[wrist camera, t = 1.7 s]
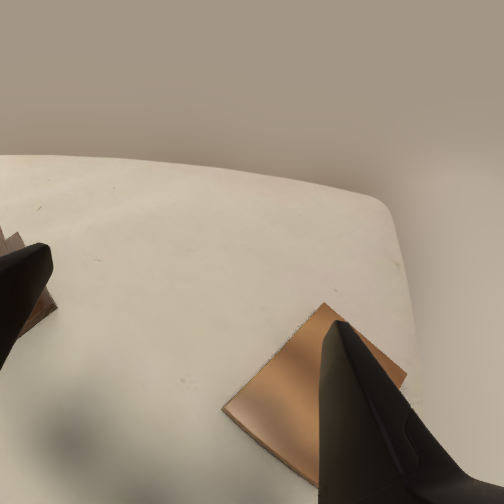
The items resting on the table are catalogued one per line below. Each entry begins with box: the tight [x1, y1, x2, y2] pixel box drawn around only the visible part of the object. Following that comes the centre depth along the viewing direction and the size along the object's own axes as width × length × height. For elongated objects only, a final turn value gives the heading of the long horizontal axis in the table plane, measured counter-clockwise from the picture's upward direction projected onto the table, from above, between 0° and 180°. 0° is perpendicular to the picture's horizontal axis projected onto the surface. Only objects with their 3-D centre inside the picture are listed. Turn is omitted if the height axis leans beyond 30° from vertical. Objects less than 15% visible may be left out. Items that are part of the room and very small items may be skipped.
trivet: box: [222, 303, 407, 488], centre depth 21 cm, size 12×10×2 cm
